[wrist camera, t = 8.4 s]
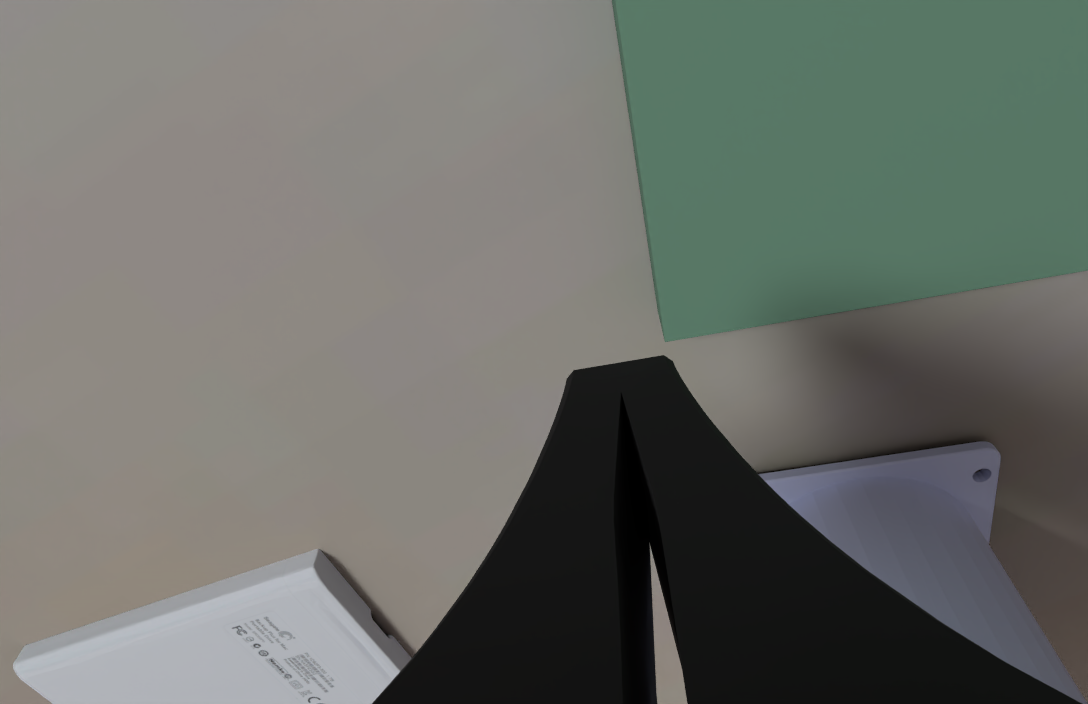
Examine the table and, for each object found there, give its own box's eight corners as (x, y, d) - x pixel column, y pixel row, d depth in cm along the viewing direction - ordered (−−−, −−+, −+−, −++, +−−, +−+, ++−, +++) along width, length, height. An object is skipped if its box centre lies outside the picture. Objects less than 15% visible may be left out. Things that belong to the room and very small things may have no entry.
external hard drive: (32, 631, 29) (323, 534, 26) (175, 747, 33) (439, 674, 30) (7, 670, 28) (310, 573, 25) (159, 786, 32) (434, 714, 29)
